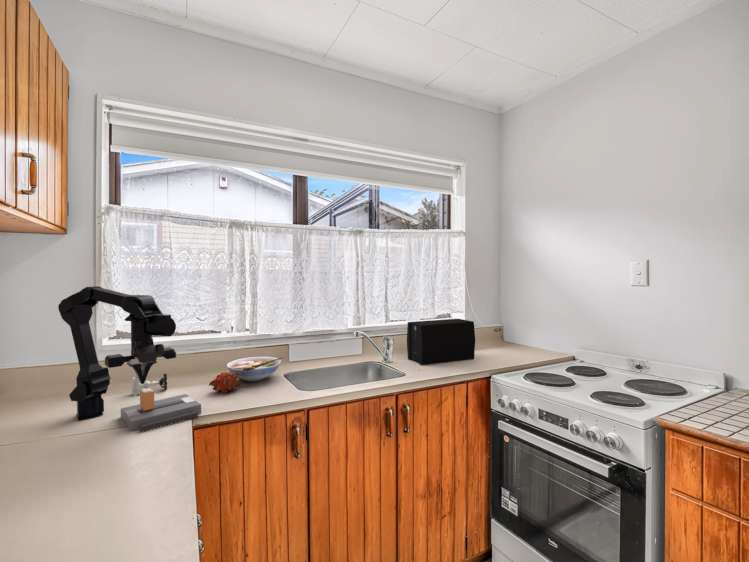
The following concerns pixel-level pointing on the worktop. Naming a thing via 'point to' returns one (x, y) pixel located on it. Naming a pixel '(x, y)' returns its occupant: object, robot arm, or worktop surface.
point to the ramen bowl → (254, 367)
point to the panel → (159, 411)
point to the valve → (146, 384)
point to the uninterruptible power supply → (440, 341)
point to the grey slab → (168, 421)
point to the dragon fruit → (226, 382)
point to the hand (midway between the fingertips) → (142, 383)
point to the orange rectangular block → (147, 399)
